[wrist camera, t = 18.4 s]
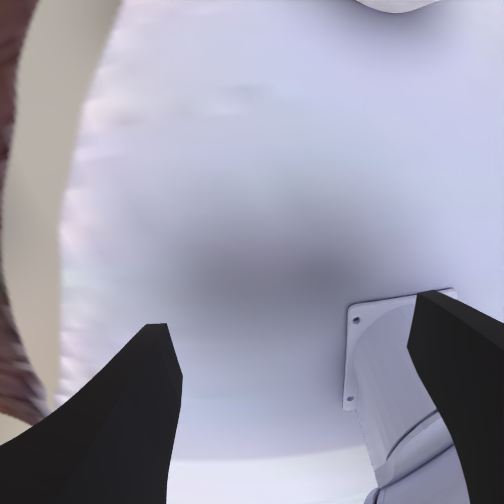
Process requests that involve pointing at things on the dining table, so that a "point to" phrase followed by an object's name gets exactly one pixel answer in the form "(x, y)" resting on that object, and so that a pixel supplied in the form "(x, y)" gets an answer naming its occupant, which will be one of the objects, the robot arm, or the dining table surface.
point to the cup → (396, 5)
